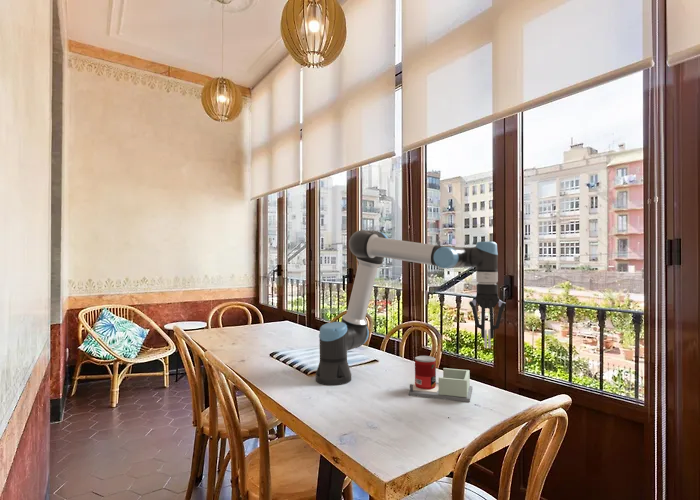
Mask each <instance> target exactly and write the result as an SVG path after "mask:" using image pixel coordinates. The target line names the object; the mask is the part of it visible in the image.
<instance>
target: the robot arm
mask: <svg viewBox="0 0 700 500" xmlns="http://www.w3.org/2000/svg"><path fill="white" fill-rule="evenodd" d="M348 247H349V250H350V252H351V254H352V255H354V256H355V257H356V258H355V259H356V260H357V262H358V265H357V269H356V272H355V278H354V282H353V286H352V290H351V294H350V297H349V301H348V306H347V311H346V313H345V314H343V315H342V318H341V321H332V322H327V323H325V324H322V325H321V326H320V327H319V334H318V338H319V340H318V341H319V363H318V366H317V369H316V372H315V381H316V382H317V383H319V384H322V385H327V386H337V385H346V384H348V383H350V382H351V381H352V372H351V369H350V367H349V363H348V351H351V350H354V349H358V348H360V347H361V346H363V345H364V344H366V342H367V341H368V339H369V336H370V331H369V327H368V320H367V319H366V317H367V313H368V308H369V305H370V301H371V300H370V299H371V295H372V293H373V287H374V285H375V284H374V283H375V280H376V277H377V276H376V275H377V271H378V268H379V267H380V266H382V265H383V261H384V258H386V259H390V260H392V259H393V260H399V261H402V262H403V261H404V262H411V263H417V264H422V265H423V264H424V265H427V266H428V265H430V266H434V267H439V268H442V269H451V268H452V269H453V268H476V270H475V271H476V274H475V275H476V277H475V279H476V295H475V298H474V299H473V300H470V301H469V303H468V304H469V306H470V307H471V310H472V315H473V319H474V323H475V327H476V328H479V329H480V335H481V336H480V338H481V339H484V346H483V347H484V349H487V348H488V349H491V347H492V344H491V341H492V340H493V339H494V338H495V330H496V329H499V328H500V324H501V320H502V314H503V311H504V308H505V306H506V302H504V301H502V300H501V299H500V297H499V285H498V282H499V280H498V279H499V273H498V272H499V271H498V265H499V264H498V263H499V262H498V259H499V253H498V244H497V243H496V242H495V241H477V242H476V244H475V246H474V247H473V246H472V247H467V246H466V247H465V246H464V247H462V246H461V247H460V246H459V247H458V246H457V247H455V246H444V245H436V244H430V243H423V242H414V241H409V240H401V239H400V240H399V239H395V238H394V239H392V238H389V237H388V236H387V235H386V234H385V233H384V232H382V231H378V230H365V229H362V230H357V231H355V232H354V233H352V235H351V236H350V237H349V240H348ZM497 304H498V312H497V315H496V316H497V318H496V321H495V324H494V308H495V307H496V306H497ZM477 305H478V306H479V307H480V308H481V310H480V311H481V314H480V315H481V317H480V318H481V320H480V321H481V322H480V321H479V316H478V312H477V311H478V310H477V307H476V306H477ZM486 309H488V311H489V325H490V326H489V328H488V329H487V328H485V327H486Z"/></svg>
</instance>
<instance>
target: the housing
mask: <svg viewBox="0 0 700 500" xmlns="http://www.w3.org/2000/svg"><path fill="white" fill-rule="evenodd" d="M470 371H471V370H469V369H458V368H447V367H443V368H442V376H439V377H438V383H439V394H440V395H449V396H458V397H467V395H468V391H469V386H471V385H470V384H471V383H470V382H471V380H470V379H471V378H470V377H471V376H470V373H471V372H470Z"/></svg>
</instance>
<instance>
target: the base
mask: <svg viewBox="0 0 700 500" xmlns="http://www.w3.org/2000/svg"><path fill="white" fill-rule="evenodd" d="M472 392H473V385H470V386H469V391H468V395H467V397H458V396H449V395H440V394H439V382H436V386H435V388H433V389H420V388H417V387H416V385H415V382H414V383H413V384H412V383H411V384H409V391H408V396H411V397H412V396H413V397H420V398H430V399H439V400H447V401H455V402H463V403H464V402H465V403H471V398H472Z"/></svg>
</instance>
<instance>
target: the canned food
mask: <svg viewBox="0 0 700 500" xmlns="http://www.w3.org/2000/svg"><path fill="white" fill-rule="evenodd" d="M436 365H437V363H436V358H435V357H434V356H429V355H419V356H415V357H414V383H415V385H416V387H417V388H420V389H433V388H435V386H436V383H437V375H436V374H437V373H436V372H437V367H436Z"/></svg>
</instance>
